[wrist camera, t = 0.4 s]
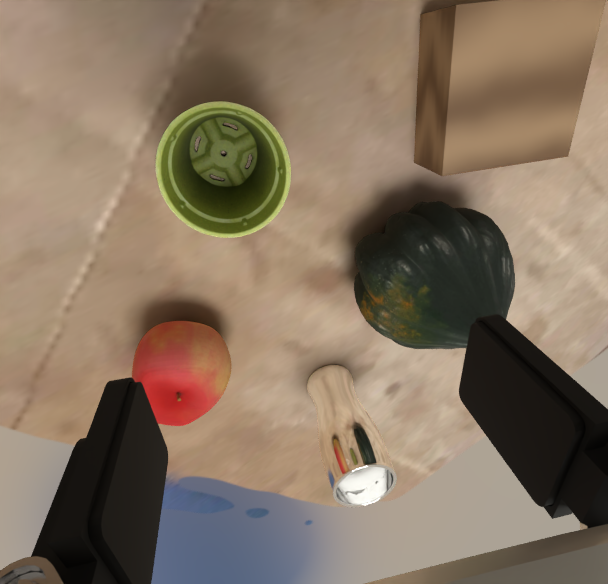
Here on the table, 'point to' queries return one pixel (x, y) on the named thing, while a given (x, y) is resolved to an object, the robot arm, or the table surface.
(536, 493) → the robot arm
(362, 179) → the table surface
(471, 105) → the walnut block
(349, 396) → the silver metal vase
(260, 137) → the plant pot
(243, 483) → the table surface
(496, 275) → the squash
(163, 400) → the apple
